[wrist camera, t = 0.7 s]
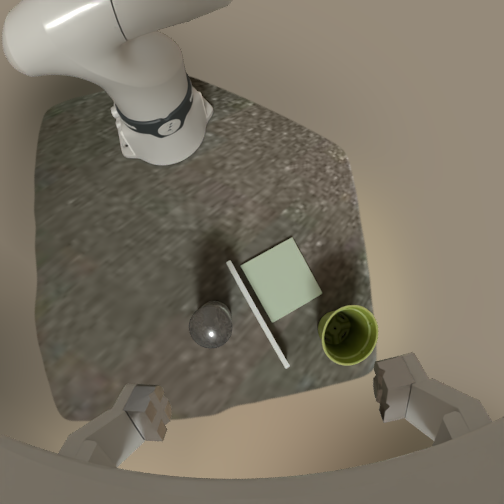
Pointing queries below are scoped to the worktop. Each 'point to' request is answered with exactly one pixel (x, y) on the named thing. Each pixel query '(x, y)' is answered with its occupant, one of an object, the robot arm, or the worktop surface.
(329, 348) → the plant pot
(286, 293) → the pad
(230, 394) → the worktop surface
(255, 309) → the wall
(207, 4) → the robot arm
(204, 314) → the canister
